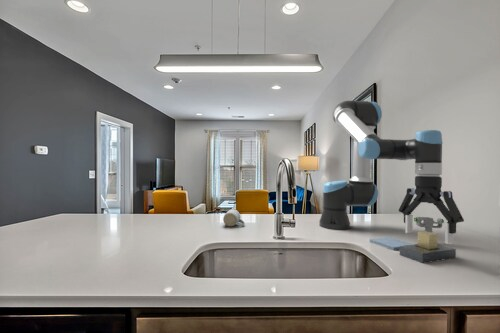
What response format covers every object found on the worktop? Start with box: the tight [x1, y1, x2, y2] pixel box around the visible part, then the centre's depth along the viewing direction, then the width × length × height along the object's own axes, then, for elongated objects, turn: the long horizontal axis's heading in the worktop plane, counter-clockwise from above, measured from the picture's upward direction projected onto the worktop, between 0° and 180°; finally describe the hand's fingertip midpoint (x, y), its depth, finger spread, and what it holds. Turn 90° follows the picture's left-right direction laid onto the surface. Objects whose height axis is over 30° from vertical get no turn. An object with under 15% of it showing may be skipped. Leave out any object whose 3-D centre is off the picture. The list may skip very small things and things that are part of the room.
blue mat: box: [369, 236, 414, 251], centre depth 99 cm, size 11×11×1 cm
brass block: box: [417, 230, 439, 250], centre depth 86 cm, size 4×4×8 cm
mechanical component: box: [413, 216, 445, 233], centre depth 103 cm, size 3×10×10 cm, turn 78°
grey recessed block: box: [399, 243, 457, 264], centre depth 86 cm, size 8×16×3 cm, turn 110°
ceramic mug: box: [222, 208, 246, 227], centre depth 127 cm, size 11×8×8 cm
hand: (427, 237), depth 86 cm, fingers open, 13 cm apart
